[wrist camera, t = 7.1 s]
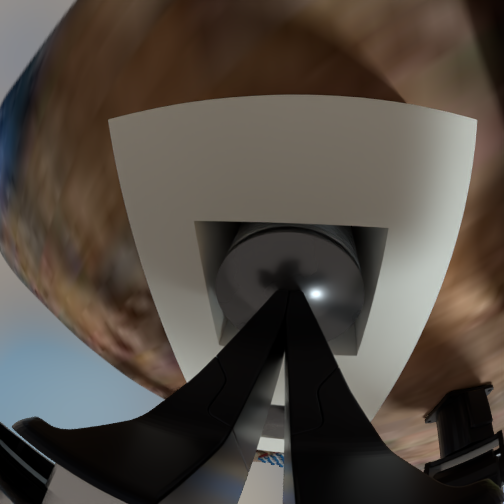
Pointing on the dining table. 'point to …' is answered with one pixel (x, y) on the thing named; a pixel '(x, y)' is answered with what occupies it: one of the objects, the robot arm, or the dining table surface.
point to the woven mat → (272, 457)
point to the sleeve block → (297, 212)
